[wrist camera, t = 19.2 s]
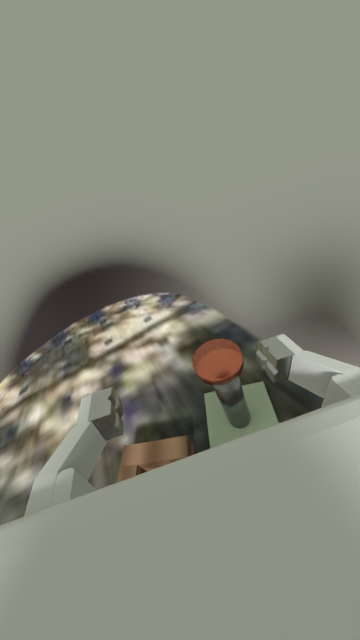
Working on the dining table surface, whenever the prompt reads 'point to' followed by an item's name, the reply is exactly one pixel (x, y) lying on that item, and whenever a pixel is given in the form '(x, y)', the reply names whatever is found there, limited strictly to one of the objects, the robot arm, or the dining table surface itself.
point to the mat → (258, 409)
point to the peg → (224, 377)
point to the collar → (153, 455)
